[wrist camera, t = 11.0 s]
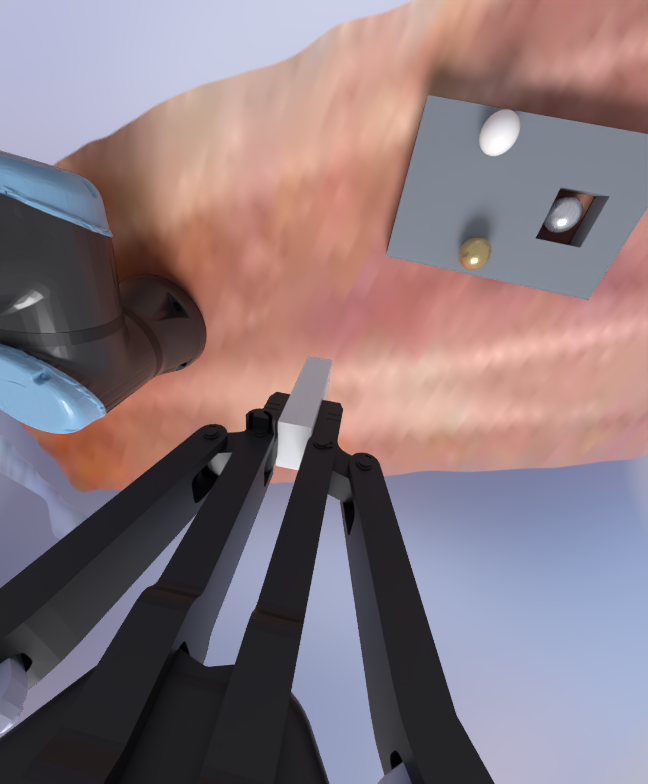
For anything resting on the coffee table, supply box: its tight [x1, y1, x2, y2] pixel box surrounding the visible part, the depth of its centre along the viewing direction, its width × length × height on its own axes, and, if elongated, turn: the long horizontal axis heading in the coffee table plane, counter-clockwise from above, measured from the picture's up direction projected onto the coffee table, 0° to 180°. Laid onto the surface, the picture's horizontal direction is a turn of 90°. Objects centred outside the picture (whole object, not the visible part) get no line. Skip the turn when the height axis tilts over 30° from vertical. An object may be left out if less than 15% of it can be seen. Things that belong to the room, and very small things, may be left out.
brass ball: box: [458, 237, 492, 270], centre depth 33 cm, size 3×3×3 cm
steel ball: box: [544, 197, 583, 233], centre depth 32 cm, size 3×3×3 cm
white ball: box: [479, 109, 520, 156], centre depth 28 cm, size 3×3×3 cm
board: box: [386, 95, 648, 300], centre depth 33 cm, size 23×14×2 cm, turn 80°
